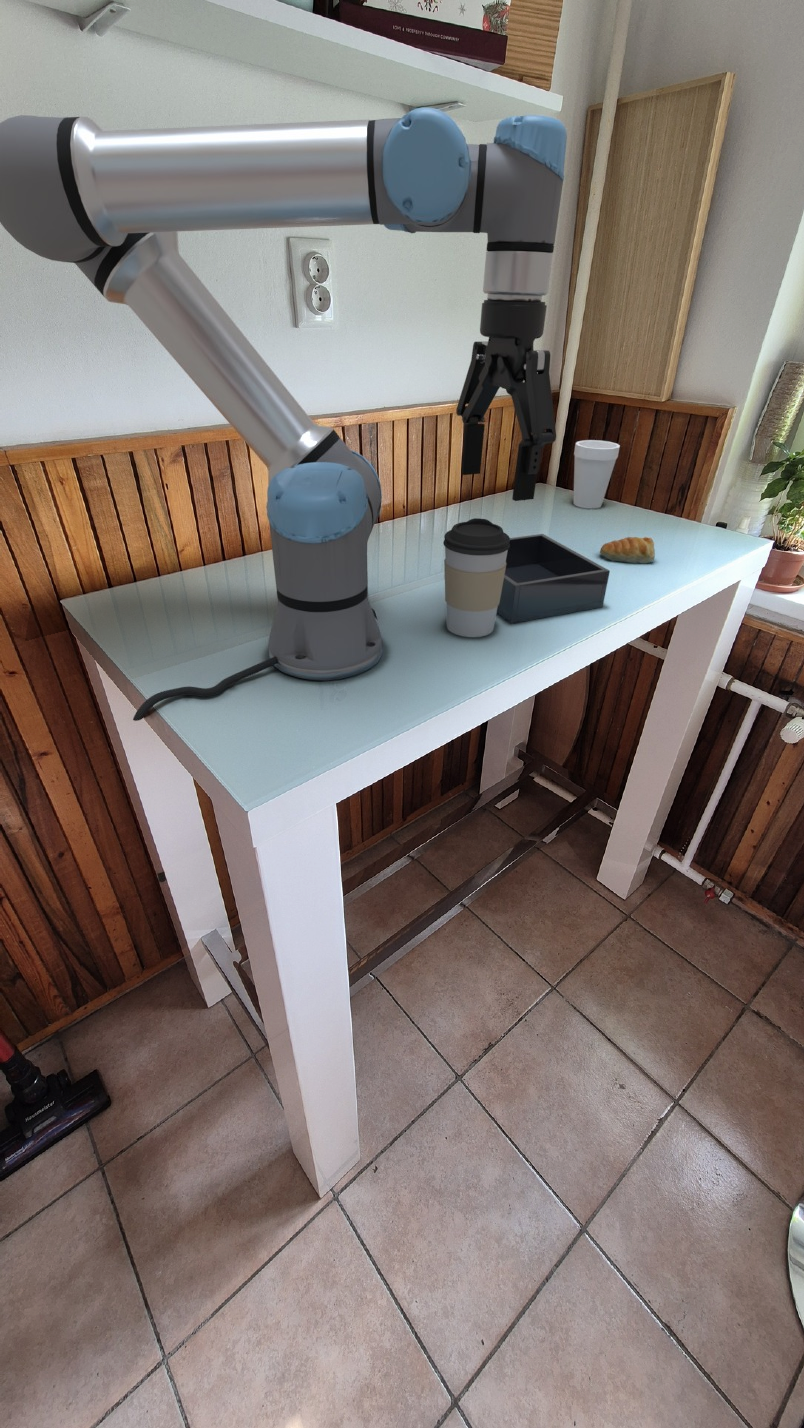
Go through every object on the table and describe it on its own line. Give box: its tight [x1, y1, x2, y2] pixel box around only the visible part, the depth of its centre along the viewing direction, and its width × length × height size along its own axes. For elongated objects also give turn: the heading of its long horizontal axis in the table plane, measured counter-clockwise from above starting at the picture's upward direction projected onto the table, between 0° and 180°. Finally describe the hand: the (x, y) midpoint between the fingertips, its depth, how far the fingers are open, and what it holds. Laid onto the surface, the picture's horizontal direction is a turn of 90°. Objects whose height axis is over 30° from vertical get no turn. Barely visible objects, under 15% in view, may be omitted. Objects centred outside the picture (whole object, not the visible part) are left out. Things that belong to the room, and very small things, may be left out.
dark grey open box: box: [496, 533, 611, 625], centre depth 104 cm, size 17×19×6 cm
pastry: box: [599, 536, 656, 564], centre depth 119 cm, size 9×7×4 cm
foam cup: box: [572, 439, 621, 509], centre depth 145 cm, size 10×9×13 cm
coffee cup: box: [442, 517, 511, 638], centre depth 91 cm, size 9×9×15 cm
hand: (495, 486), depth 87 cm, fingers open, 13 cm apart
